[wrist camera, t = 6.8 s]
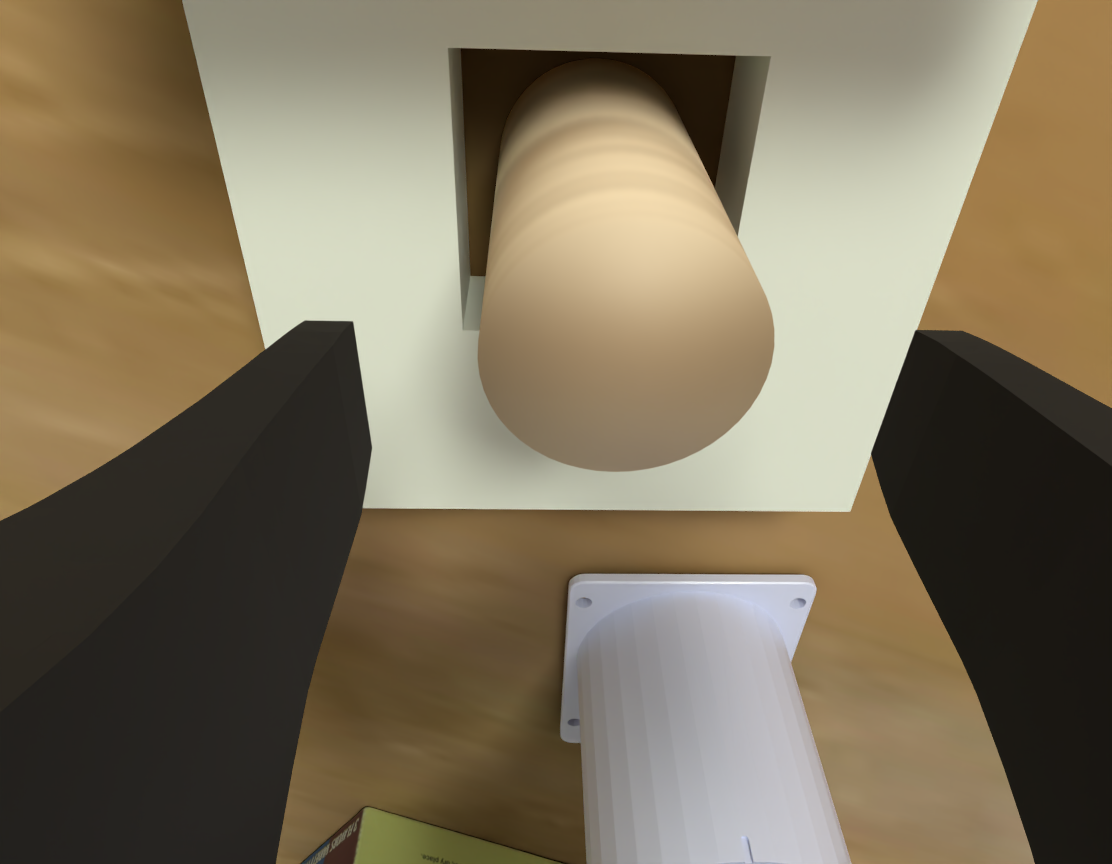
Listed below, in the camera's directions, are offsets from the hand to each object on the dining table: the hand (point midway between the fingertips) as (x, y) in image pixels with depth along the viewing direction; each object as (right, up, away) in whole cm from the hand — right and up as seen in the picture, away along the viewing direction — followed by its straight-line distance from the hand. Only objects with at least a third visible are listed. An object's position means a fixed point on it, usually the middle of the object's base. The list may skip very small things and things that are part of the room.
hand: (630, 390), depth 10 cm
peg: (0, +5, +7) cm, 9 cm away
